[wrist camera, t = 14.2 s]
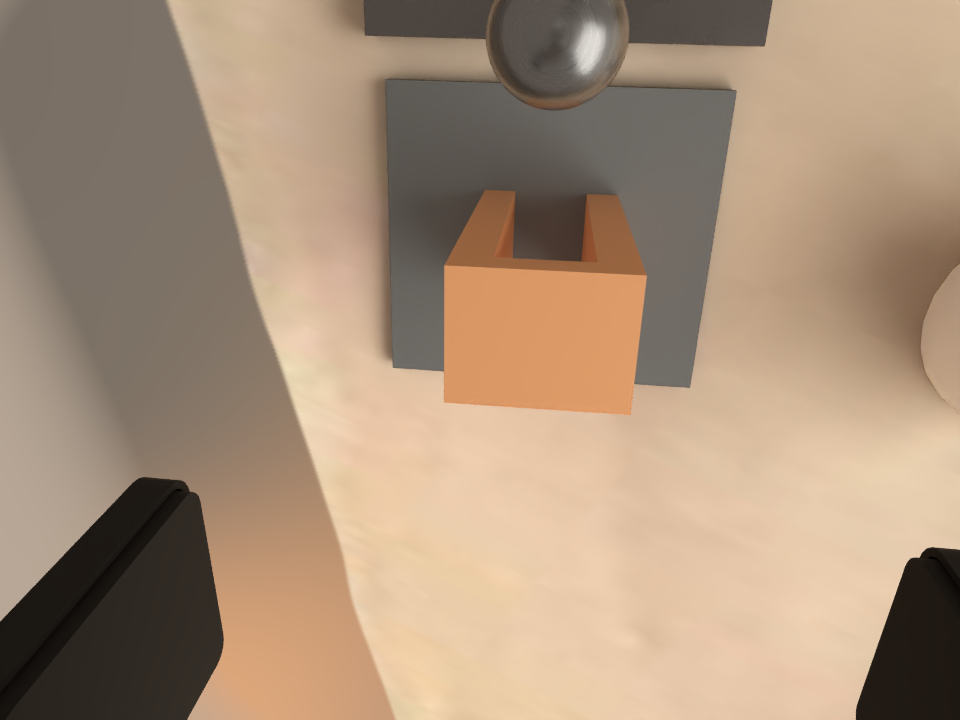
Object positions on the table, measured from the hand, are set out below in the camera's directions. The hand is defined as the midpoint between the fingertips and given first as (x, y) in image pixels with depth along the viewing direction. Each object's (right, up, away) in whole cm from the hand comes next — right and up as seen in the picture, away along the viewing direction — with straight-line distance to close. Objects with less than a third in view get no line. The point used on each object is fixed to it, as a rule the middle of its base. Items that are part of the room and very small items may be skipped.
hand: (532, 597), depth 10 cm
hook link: (+2, +8, +19) cm, 21 cm away
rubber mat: (+2, +8, +20) cm, 22 cm away
